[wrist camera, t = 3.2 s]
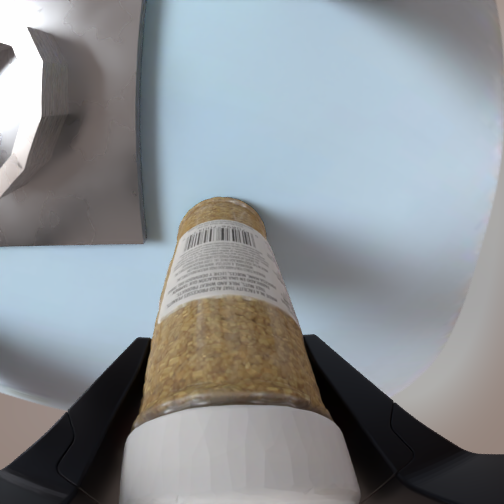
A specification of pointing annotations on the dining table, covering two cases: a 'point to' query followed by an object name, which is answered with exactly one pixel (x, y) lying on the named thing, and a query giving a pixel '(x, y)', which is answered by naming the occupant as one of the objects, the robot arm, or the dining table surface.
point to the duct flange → (70, 122)
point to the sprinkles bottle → (231, 381)
